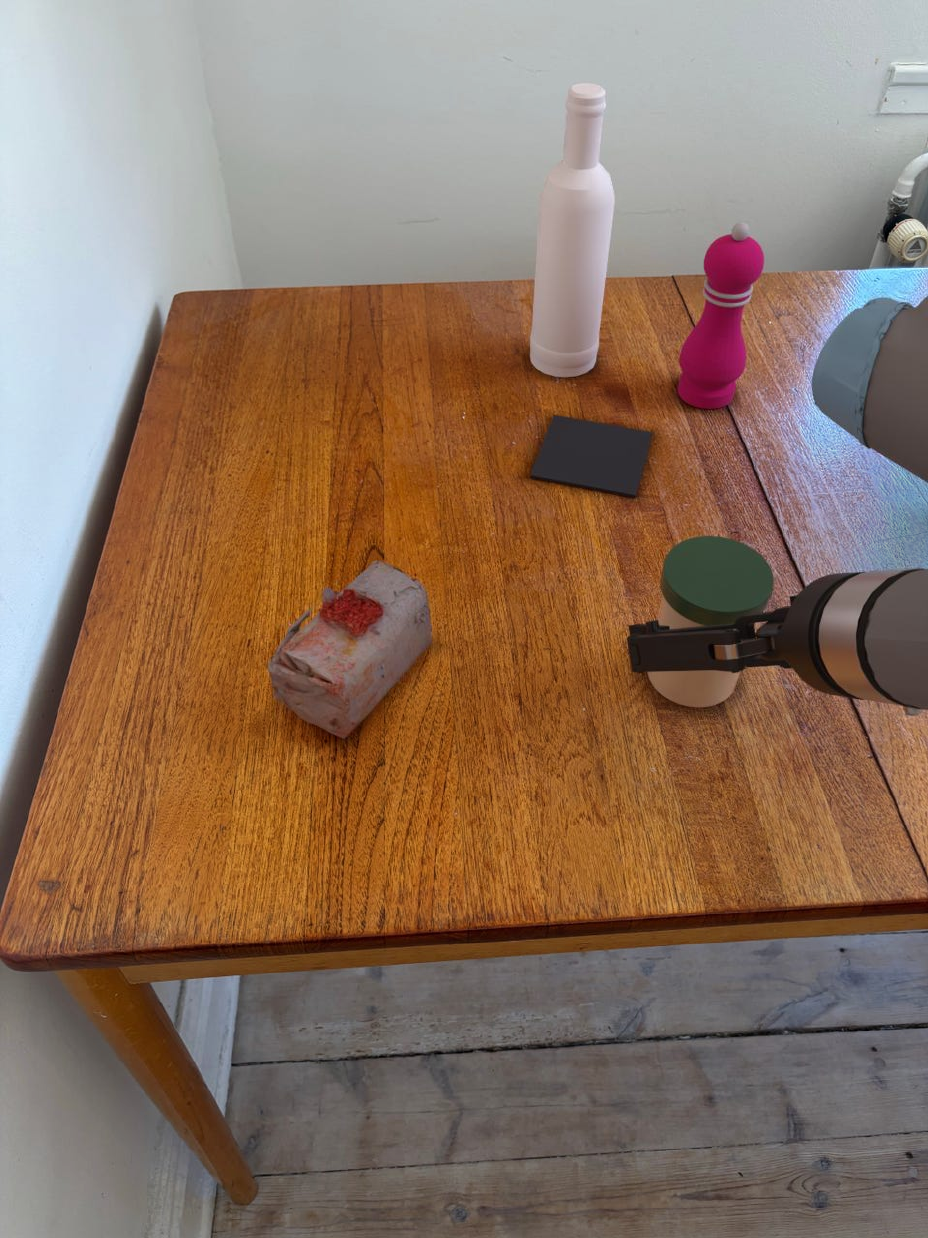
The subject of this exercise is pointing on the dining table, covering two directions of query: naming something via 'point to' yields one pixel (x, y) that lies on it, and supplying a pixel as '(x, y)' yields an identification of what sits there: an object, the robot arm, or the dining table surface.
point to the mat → (592, 456)
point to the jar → (690, 673)
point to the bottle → (573, 244)
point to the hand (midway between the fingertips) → (716, 626)
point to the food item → (352, 649)
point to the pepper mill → (720, 321)
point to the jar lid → (715, 580)
